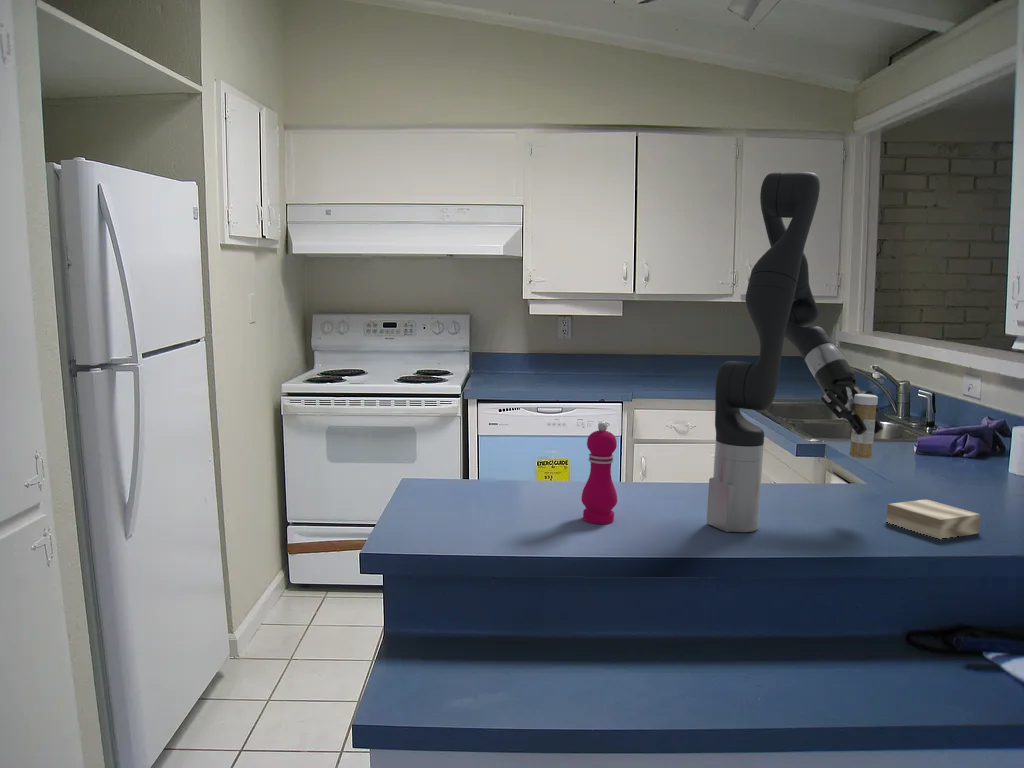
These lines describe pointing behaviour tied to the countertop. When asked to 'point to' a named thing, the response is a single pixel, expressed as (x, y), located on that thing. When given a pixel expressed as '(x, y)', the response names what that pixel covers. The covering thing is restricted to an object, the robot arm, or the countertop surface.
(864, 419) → the sprinkles bottle
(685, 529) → the countertop surface
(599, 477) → the pepper mill
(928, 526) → the wooden riser
